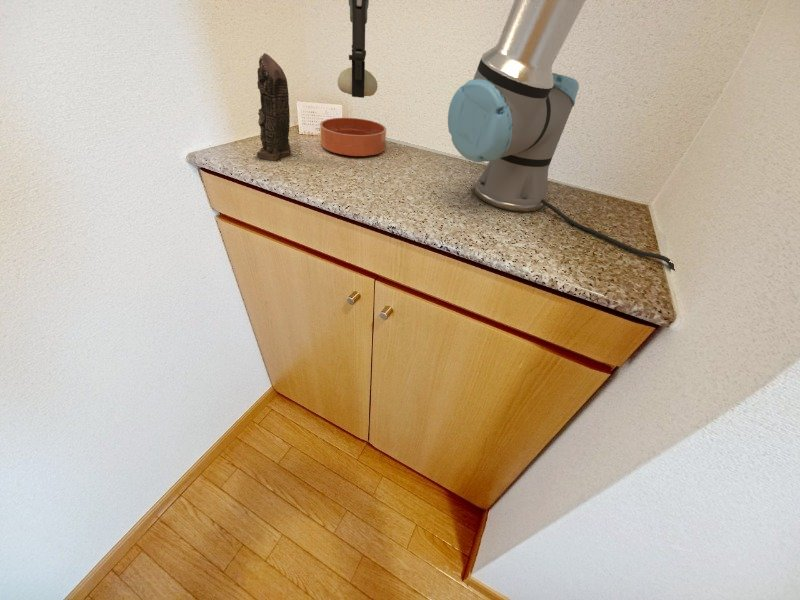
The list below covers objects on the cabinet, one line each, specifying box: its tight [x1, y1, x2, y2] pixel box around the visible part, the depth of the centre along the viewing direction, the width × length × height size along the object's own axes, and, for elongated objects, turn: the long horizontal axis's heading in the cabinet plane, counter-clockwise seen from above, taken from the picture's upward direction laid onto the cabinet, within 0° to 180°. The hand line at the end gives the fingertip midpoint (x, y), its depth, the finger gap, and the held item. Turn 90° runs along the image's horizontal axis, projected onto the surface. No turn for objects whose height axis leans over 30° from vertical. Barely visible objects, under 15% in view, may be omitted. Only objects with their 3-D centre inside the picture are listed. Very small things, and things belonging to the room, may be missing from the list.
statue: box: [256, 52, 292, 162], centre depth 71 cm, size 7×7×20 cm
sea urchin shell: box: [337, 66, 379, 97], centre depth 74 cm, size 9×8×8 cm
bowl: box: [319, 117, 387, 157], centre depth 86 cm, size 17×17×6 cm
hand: (357, 92), depth 75 cm, fingers closed on sea urchin shell, 9 cm apart
